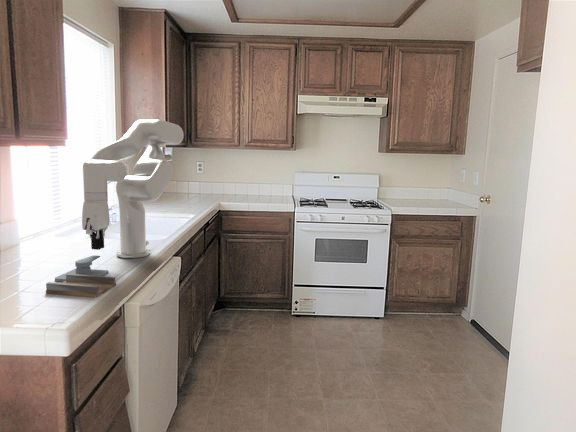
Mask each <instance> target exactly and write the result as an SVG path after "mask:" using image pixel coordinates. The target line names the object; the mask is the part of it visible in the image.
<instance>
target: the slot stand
mask: <svg viewBox="0 0 576 432" xmlns="http://www.w3.org/2000/svg"><path fill="white" fill-rule="evenodd" d="M115 286H117V281H116V277H115V276H106V275H104V276H94V275H80V274H66V281H65V282H51V281H49V282H48V281H47V282H46V283H45V287H46V290H45V294H47V295H59V296H74V297H84V298H85V297H86V298H99V296H102V295H103V294H105V293H107V292H108V291H109V290H110V289H112V288H115Z"/></svg>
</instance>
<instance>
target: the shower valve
mask: <svg viewBox="0 0 576 432" xmlns="http://www.w3.org/2000/svg"><path fill="white" fill-rule="evenodd" d="M99 258H101V256H100V255H90V256H88V257H84V258H81V259H79V260H76V261H75V263H74V264H75V267H76V268H74V269H72V270H70V271H67V272H64V273H63V274H60V275H58V276H55V277H54V282H57V283H62V282H65V281H66V274H80V275H94V276H106V275H108V274H109V270H108V269H96V268H95V269H94V268H92V267H91V266H92V265H93V261H96V260H98V259H99Z"/></svg>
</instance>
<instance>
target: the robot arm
mask: <svg viewBox="0 0 576 432" xmlns="http://www.w3.org/2000/svg"><path fill="white" fill-rule="evenodd" d="M184 135H185V134H184V130H183V128H182V127H181V126H180V125H179V124H176V123H172V122H170V121H167V120H162V119H150V118H149V119H144V118H143V119H138V120H136V121H135V122H134V123H133V124H132V125H131V127H129V129H128V130H127V131H126V132H125V133H124V134H123V136H122V137H120V139H119V140H116V141H114V142H112V143H110V144H108V145H106V146H105V147H102V148H100V150H98V151H97V152H95V153H94V155H93V156H92V157H91V158H90V159H89V160H88V161H84V162H83V164H82V175H83V176H82V178H83V200H84V202H83V203H82V214H81V219H82V220H81V228H82V230H84V231H85V234H86V235H87V236H88V235H89V238H90V241H91V242H90V243H91V250H99V251H101V249H104V248H105V235H106V231H107V229H108V227H109V226H110V212H109V211H110V210H109V203H108V201H109V200H108V199H109V196H108V182H116V184H115V191H116V195H117V199H118V206H119V207H118V209H119V237H120V239H119V241H120V250H118V251H117V252H116V256H117V257H119V258H123V259H138V258H143V257H147V256H149V255H150V254H151V250H150V249H147V246H148V245H149V243H150V242H149V241H148V240H146V236H147V235H146V210H145V206H144V204H143V203H142V202H155V201H157V200H158V199H160V197H161V196H162V194H163V192H165V190H166V188H167V187H168V185H169V184H170V182H171V180H172V179H173V173H174V169H173V166H172V163H170V162H169V160H167V159H165V154H164V151H163V150H162V148H161V145H165V146H178V145H180V144H181V143H182V142H183V140H184V137H185V136H184ZM144 148H145V150H144V152H143V154H142V155H141V157H140V158H139V159H138V160H137V162H136V163H135V164H134V166H133V168H132V175H128V168H127V166H126V164H124V162H121V161H123V160H129V159H132V158H134V157H137V156H138V155H140V153H141V152H142V150H143V149H144Z"/></svg>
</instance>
